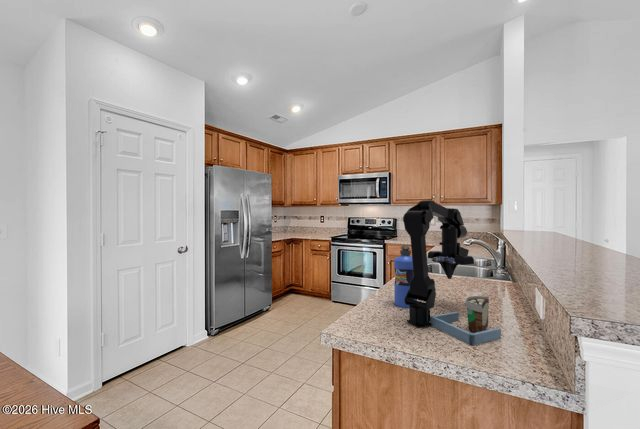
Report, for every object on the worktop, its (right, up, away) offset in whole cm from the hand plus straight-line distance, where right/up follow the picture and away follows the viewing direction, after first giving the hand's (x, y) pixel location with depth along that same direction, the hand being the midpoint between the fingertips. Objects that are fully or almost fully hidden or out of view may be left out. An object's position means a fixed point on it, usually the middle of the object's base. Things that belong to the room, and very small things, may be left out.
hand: (449, 278), depth 120 cm
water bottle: (-16, -12, +5) cm, 21 cm away
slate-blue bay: (-5, -12, -23) cm, 26 cm away
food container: (-1, -13, -21) cm, 24 cm away
